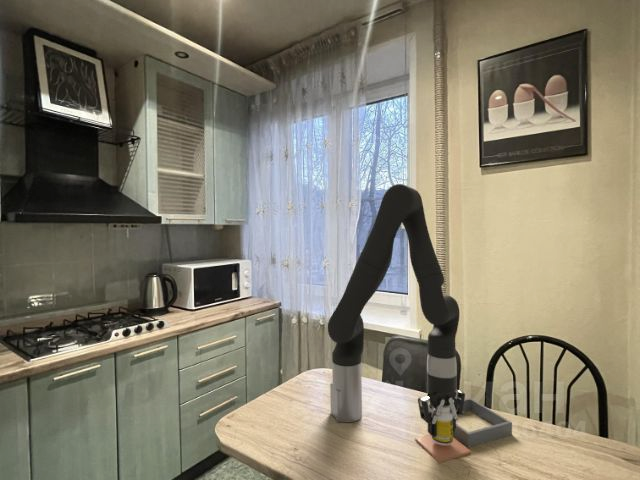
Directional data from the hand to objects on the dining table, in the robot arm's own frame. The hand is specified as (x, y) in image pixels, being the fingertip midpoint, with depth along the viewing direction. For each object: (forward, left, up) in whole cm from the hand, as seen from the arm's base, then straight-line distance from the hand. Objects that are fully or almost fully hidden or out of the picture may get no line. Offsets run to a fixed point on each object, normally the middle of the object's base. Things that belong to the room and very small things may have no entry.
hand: (441, 432), depth 92 cm
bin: (+14, +5, -4) cm, 15 cm away
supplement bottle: (0, 0, -2) cm, 2 cm away
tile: (0, 0, -4) cm, 4 cm away
